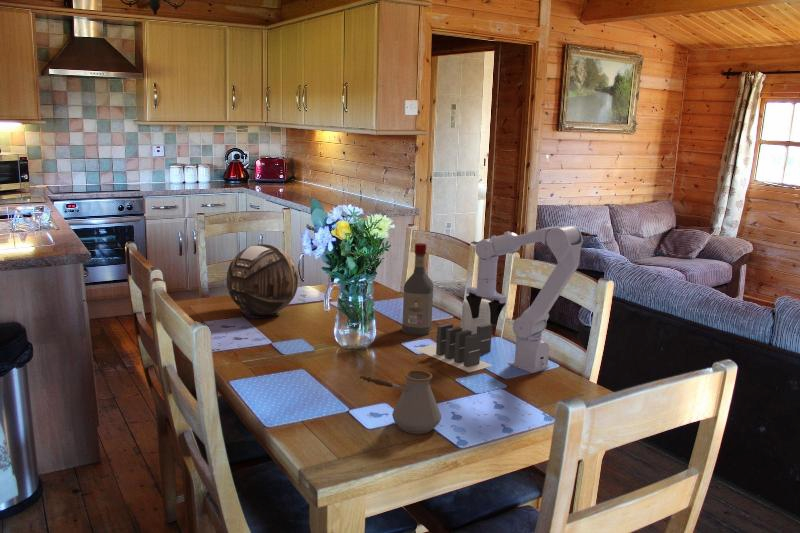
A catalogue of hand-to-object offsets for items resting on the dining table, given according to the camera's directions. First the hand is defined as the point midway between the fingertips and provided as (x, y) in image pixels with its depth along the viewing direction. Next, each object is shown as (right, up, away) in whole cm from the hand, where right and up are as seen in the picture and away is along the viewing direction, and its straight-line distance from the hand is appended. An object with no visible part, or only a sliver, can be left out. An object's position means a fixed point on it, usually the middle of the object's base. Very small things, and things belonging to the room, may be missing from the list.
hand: (484, 320), depth 215 cm
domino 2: (-10, -11, -4) cm, 15 cm away
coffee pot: (-26, -21, -54) cm, 63 cm away
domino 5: (0, -10, +2) cm, 10 cm away
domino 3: (-7, -11, -7) cm, 15 cm away
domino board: (-10, -11, -4) cm, 15 cm away
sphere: (-75, 0, +35) cm, 83 cm away
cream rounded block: (0, -6, +21) cm, 22 cm away
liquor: (-20, -5, +21) cm, 30 cm away
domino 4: (-5, -12, -10) cm, 16 cm away
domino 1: (-13, -10, -1) cm, 16 cm away
